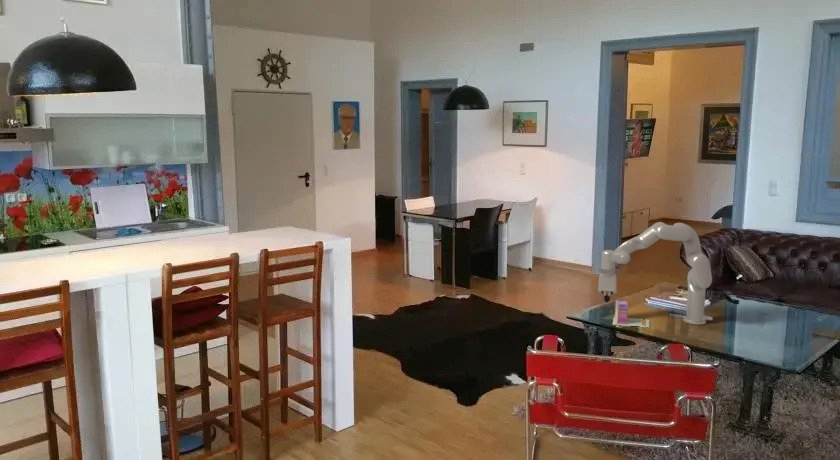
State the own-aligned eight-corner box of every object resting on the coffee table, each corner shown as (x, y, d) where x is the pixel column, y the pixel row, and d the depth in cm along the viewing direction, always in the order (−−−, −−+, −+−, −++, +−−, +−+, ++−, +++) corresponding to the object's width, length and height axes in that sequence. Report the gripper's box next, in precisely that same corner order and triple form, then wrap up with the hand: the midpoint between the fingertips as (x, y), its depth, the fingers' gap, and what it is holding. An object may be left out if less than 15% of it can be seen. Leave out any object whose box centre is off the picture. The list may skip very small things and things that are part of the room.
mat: (649, 320, 393) (649, 319, 393) (649, 328, 380) (649, 327, 380) (613, 317, 399) (613, 316, 399) (612, 324, 386) (612, 323, 386)
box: (627, 323, 386) (628, 304, 383) (617, 323, 386) (617, 303, 384) (624, 318, 396) (625, 299, 393) (614, 318, 396) (615, 298, 394)
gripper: (594, 272, 387) (593, 302, 391) (621, 273, 382) (619, 304, 386) (595, 269, 394) (594, 299, 398) (621, 270, 389) (620, 301, 393)
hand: (606, 301), depth 392 cm, fingers closed
